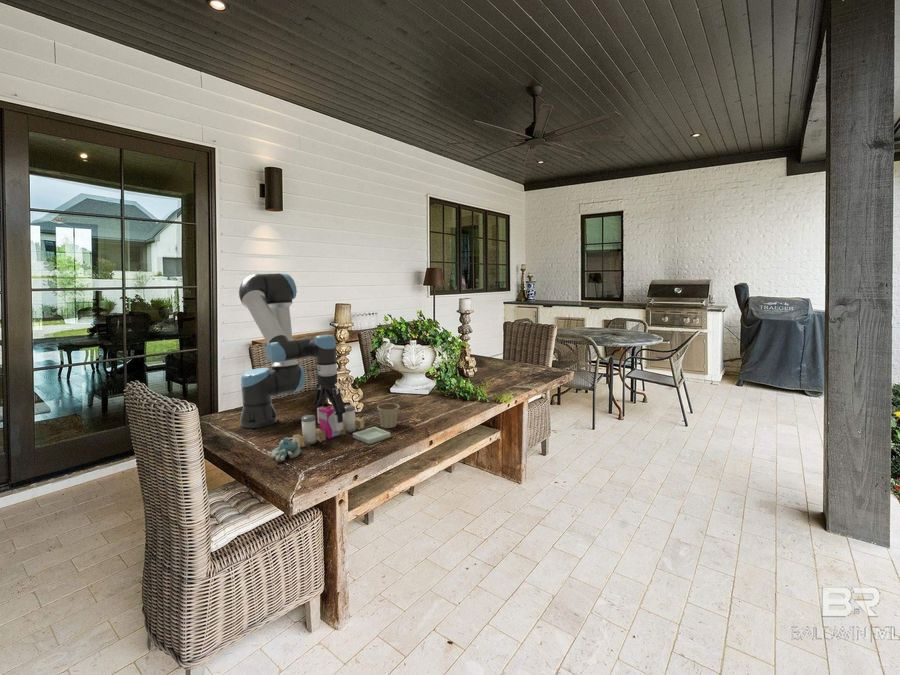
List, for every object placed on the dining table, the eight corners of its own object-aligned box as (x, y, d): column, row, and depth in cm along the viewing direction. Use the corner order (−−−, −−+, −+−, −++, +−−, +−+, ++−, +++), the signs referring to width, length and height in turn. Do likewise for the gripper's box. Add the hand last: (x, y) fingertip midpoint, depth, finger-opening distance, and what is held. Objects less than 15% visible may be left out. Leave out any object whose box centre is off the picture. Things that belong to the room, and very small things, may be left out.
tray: (352, 437, 182) (352, 433, 182) (374, 430, 190) (374, 426, 190) (368, 444, 175) (368, 439, 175) (390, 437, 182) (390, 432, 182)
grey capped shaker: (340, 430, 191) (339, 407, 189) (351, 427, 194) (350, 404, 193) (347, 433, 187) (346, 409, 186) (358, 430, 191) (357, 407, 189)
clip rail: (289, 442, 178) (288, 433, 178) (353, 423, 199) (352, 416, 198) (299, 447, 173) (299, 438, 172) (364, 428, 193) (363, 420, 192)
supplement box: (331, 432, 189) (330, 405, 187) (340, 435, 185) (339, 408, 183) (319, 436, 184) (318, 408, 182) (328, 439, 180) (327, 411, 179)
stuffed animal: (262, 449, 158) (276, 430, 169) (265, 466, 160) (278, 447, 171) (293, 449, 157) (304, 430, 168) (295, 467, 160) (307, 447, 171)
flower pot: (403, 427, 194) (403, 407, 193) (383, 431, 189) (382, 411, 188) (394, 421, 202) (393, 402, 201) (374, 425, 197) (373, 405, 196)
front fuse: (300, 442, 178) (298, 417, 177) (312, 438, 182) (311, 414, 180) (306, 445, 174) (305, 420, 173) (319, 441, 178) (317, 417, 177)
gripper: (303, 371, 187) (306, 421, 190) (335, 380, 169) (338, 436, 172) (319, 368, 192) (322, 417, 195) (353, 377, 175) (355, 430, 178)
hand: (330, 426), depth 184 cm, fingers open, 13 cm apart
